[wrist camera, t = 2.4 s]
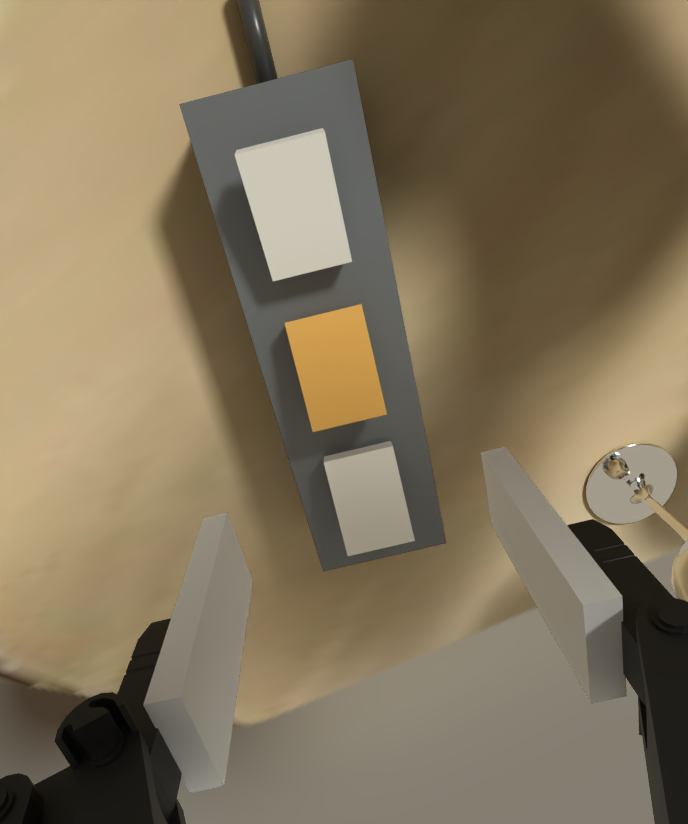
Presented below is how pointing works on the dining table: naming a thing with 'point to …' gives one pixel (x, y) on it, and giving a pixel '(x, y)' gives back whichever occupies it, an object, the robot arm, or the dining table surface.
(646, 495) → the wineglass
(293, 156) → the block
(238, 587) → the robot arm
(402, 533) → the block
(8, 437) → the dining table surface
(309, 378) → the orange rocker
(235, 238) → the power strip
